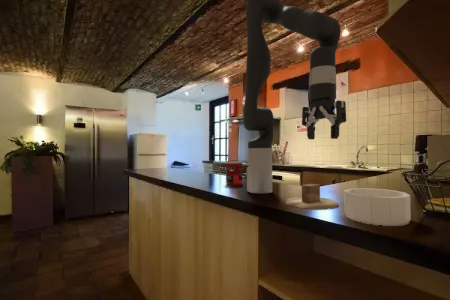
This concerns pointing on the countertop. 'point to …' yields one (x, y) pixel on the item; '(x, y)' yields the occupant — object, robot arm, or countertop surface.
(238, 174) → the canned food
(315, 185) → the oak lid
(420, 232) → the countertop surface
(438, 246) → the countertop surface
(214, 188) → the countertop surface
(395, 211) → the cream bowl
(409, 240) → the countertop surface
